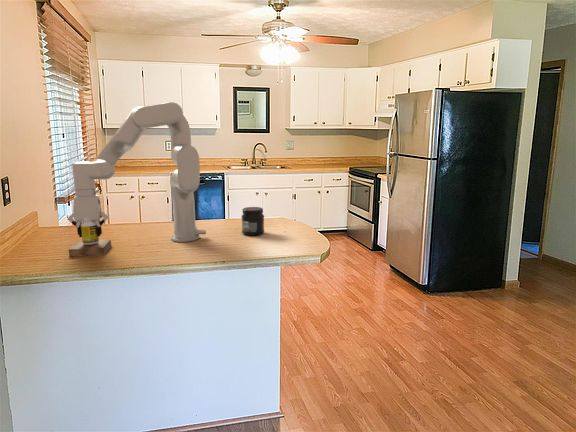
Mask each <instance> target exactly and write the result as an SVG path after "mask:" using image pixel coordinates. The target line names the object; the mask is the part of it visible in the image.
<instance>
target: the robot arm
mask: <svg viewBox="0 0 576 432" xmlns="http://www.w3.org/2000/svg"><path fill="white" fill-rule="evenodd" d="M163 126H167V127H168V130H169V136H170V156H171V157H170V158H171V160H172V162H173V163H174V164H175V165H176V168H177V169H174V170H173V172H172V173H171V175H170V178H169V183H170V184H169V186H170V191H171V199H172V214H173V215H172V219H173V233H174V234H173V235H171V236H170V239H171V241H173V242H179V243H187V242H194V241H197V240H199V239H200V235H207V230H206V229H198V228H197V226H196V209H195V208H196V207H195V205H196V204H195V203H196V202H195V194H194V192H195V191H197V189H198V188H199V186H200V183H201V182H200V181H201V175H200V174H201V170H200V168H201V167H200V155H199V153H198V150H197V149H196V147H194V146H193V145H192V139H191V127H190V123H189V122H188V120H187V118H186V117H185V116H184V111H183V108H182V107H181V105H180V104H179V103H176V102H174V101H172V102H171V101H170V102H162V103H159V104H151V105H146V106H136V107H135V108H133V109H132V110H131V111H130V112H129V114H128V115H127V117H126V118H125V120H124V121H123V122H122V124H121V125H120V126H119V127H118V129H117V130H116V131H115V133H114V134H113V136H112V137H111V138H110V140H109V141H108V143H106V145H105V146H104V147H103V148H102V150H101V152H100V153H99V154H98V155H97V156H96V158H95V160H94V161H93V162H91V161H86V160H85V161H75V162H73V164H71V165H72V176H73V185H74V193H75V195H74V196H73V203H72V204H73V205H72V206H73V207H72V212H73V213H71V214H70V215H69V216H68V217H67V221H69V222H70V223H71V224H72V225H73V226H74V227H75V228H76V230H77V235H78V236H79V238H82V233H81V223H82V222H83V221H84V218H89V219H90V220H91V221H95V223H96V224H97V227H96V231H97V236H98V237H101V236H102V234H103V230H102V226H103V224H104V223H105V222H106V221H107V220H108V219H109V215H108V214H106V213H105V211H104V212H103V209H102V204H101V199H100V196H99V193H100V189H97V188H96V183H95V182H96V181H95V180H103V181H104V180H106V181H107V180H109V179H111V178H113V176H114V175H115V173H116V168H115V165H116V164H117V162H118V161H119V160H120V159H121V158H122V157H123V156H124V155H125V154H126V153H127V152H129V151H131V149H133V148H134V147H135V145H136V143H138V141H139V139H140V138H141V136H142V135H143V133H144V132H146V129H149V128H156V127H157V128H158V127H163ZM101 218H102V220H101Z"/></svg>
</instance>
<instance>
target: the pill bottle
mask: <svg viewBox="0 0 576 432" xmlns="http://www.w3.org/2000/svg"><path fill="white" fill-rule="evenodd" d="M96 227H97V224H96V223H95V221H91V220H90V219H89V218H84V221H82V223H81V233H82V237H81V241H82V242H83V244H85V245H92V244H96V243H98V242H99V240H100V239H99V237H100V236H99V237H98V236H97V231H96Z"/></svg>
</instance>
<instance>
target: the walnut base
mask: <svg viewBox="0 0 576 432" xmlns="http://www.w3.org/2000/svg"><path fill="white" fill-rule="evenodd" d="M111 241H112V240H111V239H99V242H98V243H96V244H92V245H85V244H83V242H82V240H78V241H76V242H75V243H74V244H73V245H72V246H71V247H69V249H68V256H69V258H71V257H89V256H90V257H91V256H92V257H93V256H94V257H95V256H105V254H107V252H108V251H109V249H110V248H111V247H112V242H111Z"/></svg>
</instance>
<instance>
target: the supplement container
mask: <svg viewBox="0 0 576 432" xmlns="http://www.w3.org/2000/svg"><path fill="white" fill-rule="evenodd" d="M263 213H264V209H263V207H259V206H249V207H248V206H247V207H244V208H242V215H241V232H242V234H243V235H244V236H247V237H257V236H261V235H263V234H264V233H265V214H263Z"/></svg>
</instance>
